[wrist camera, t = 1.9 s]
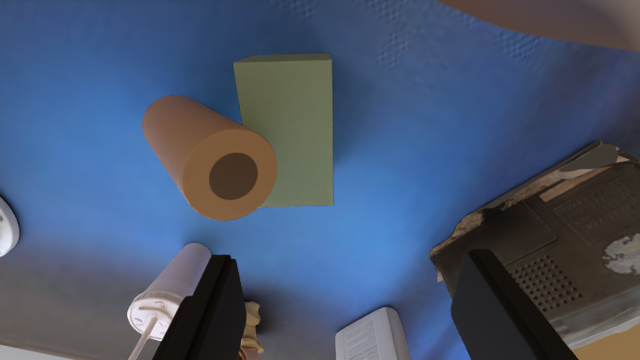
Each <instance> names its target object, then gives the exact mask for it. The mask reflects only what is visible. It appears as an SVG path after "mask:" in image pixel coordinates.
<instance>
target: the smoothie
mask: <svg viewBox="0 0 640 360" xmlns="http://www.w3.org/2000/svg"><path fill="white" fill-rule="evenodd" d="M210 258H211V252H210V250H209V249H208V248H207V247H206V246H204V245H202V244H199V243H189V244H187V245H185V246H184V247H183V248H182V249H181V251H180V252H179V253H178V254H177V255H176V256H175V257H174V259H173V260H172V261H171V262H170V263H169V264H168V265H167V267H166V268H165V269H164V270H163V271H162V272H161V273H160V275H159V276H158V277H157V278H156V279H155V280H154V282H153V283H152V284H151V285H150V286H149V287H148V288H147V290H146V291H145V292H143V293H141V294H139V295H138V296H137V297H136V298H135V299H134V300H133V302H132V304H131V306H130V307H129V309H128V312H127V316H128V320H129V322H130V324H131V325H132V326H133V328H134V329H135V330H137V331H138V332H139V333H141V334H142V337H141V338H140V340H139V342H138V344H137V345H136V347H135V349H134V350H133V352H132V354H131V356H130V357H129V359H128V360H136V359H137V357H138V355H139V353H140V351H141V350H142V348H143V346H144V344H145V342H146V341H147V339H148V338H151V339H155V340H159V341H162V339H163V337H164V335H165V333H166V331H167V329H168V327H169V325H170V323H171V321H172V319H173V317H174V315H175V313H176V311H177V309H178V307H179V305H180V303H181V302H182V300H183V299H184V298H185V297H186V296H192V295H193V293H194V291H195V289H196V287H197V285H198V283H199V280H200V278H201V276H202V274H203V272H204V270H205V268H206V266H207V264H208V262H209V259H210Z"/></svg>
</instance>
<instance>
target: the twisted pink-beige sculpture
mask: <svg viewBox="0 0 640 360" xmlns="http://www.w3.org/2000/svg"><path fill="white" fill-rule="evenodd" d="M245 307H246V312H247V320H246V325H245V329H244V333H243V338H242V342H241V346H240V350H239V354H238V358H237V360H259V353H262V352H264V350H263V348H262V347H261V345H260V343H259V341H258V340H257V336H256V329H255V325H257V324H259V321H260V319H261V318H260V316H259V314H258V309H259V307H260V305H258V304H257V303H255V302H253V301H251V302H245Z"/></svg>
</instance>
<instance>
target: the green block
mask: <svg viewBox="0 0 640 360" xmlns="http://www.w3.org/2000/svg"><path fill="white" fill-rule="evenodd" d="M233 66H234V73H235V79H236V86H237V93H238V99H239V106H240V113H241V119H242V126H244V127H246V128H248V129H250V130H252V131H254V132H256V133H257V134H259V135H261V136H262V137H263V138H264V139H265V140H266V141H267V142H268V143H269V144H270V146H271V147H272V149H273V151H274V153H275V156H276V160H277V177H276V182H275V185H274V187H273V189H272V191H271V193H270V195H269V196H268V198H267V199H266V200H265V201H264V203H263V204H262V205H261V206H259V207H289V206H326V205H334V194H333V97H332V59H331V57H330V54H329V53H308V54H277V55H252V56H250V57H247V58H245V59H242V60H239V61H237V62H234V63H233Z"/></svg>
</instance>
